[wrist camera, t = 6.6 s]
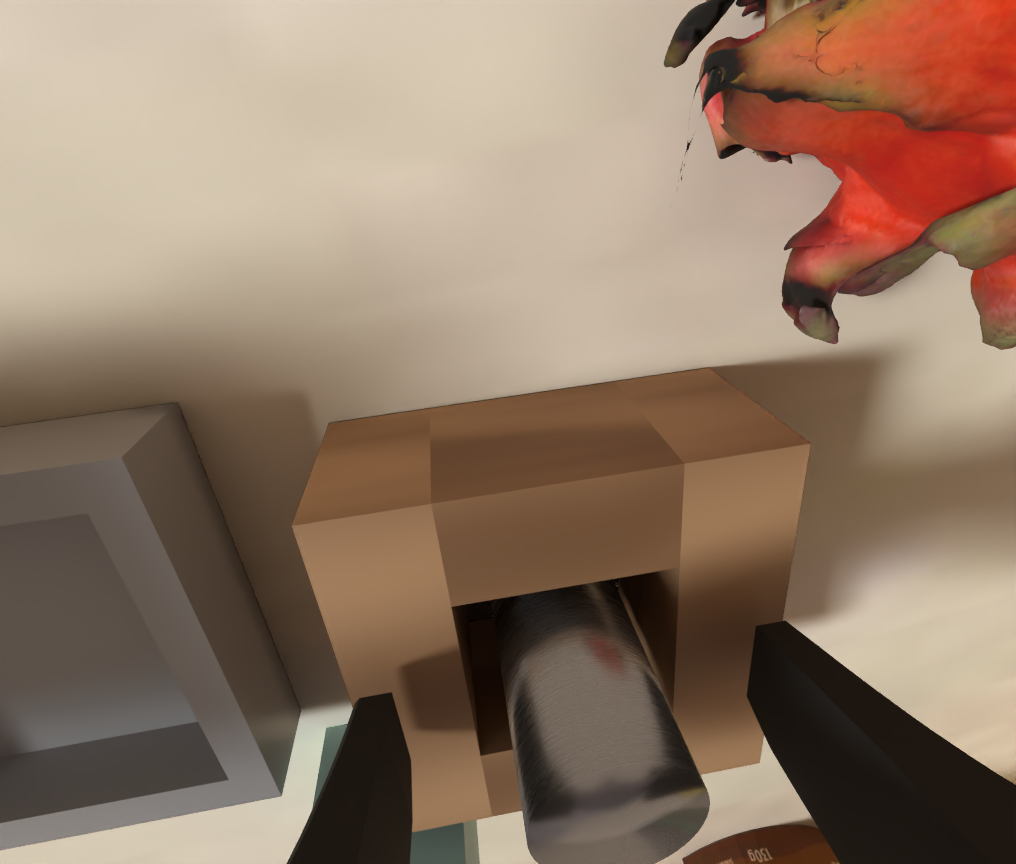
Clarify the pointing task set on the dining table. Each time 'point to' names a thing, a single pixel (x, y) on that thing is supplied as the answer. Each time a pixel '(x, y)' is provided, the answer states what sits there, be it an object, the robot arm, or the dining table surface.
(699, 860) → the food container
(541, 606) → the cylinder
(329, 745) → the block
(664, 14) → the dining table surface
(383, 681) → the bore block
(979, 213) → the dragon fruit
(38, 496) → the tray
